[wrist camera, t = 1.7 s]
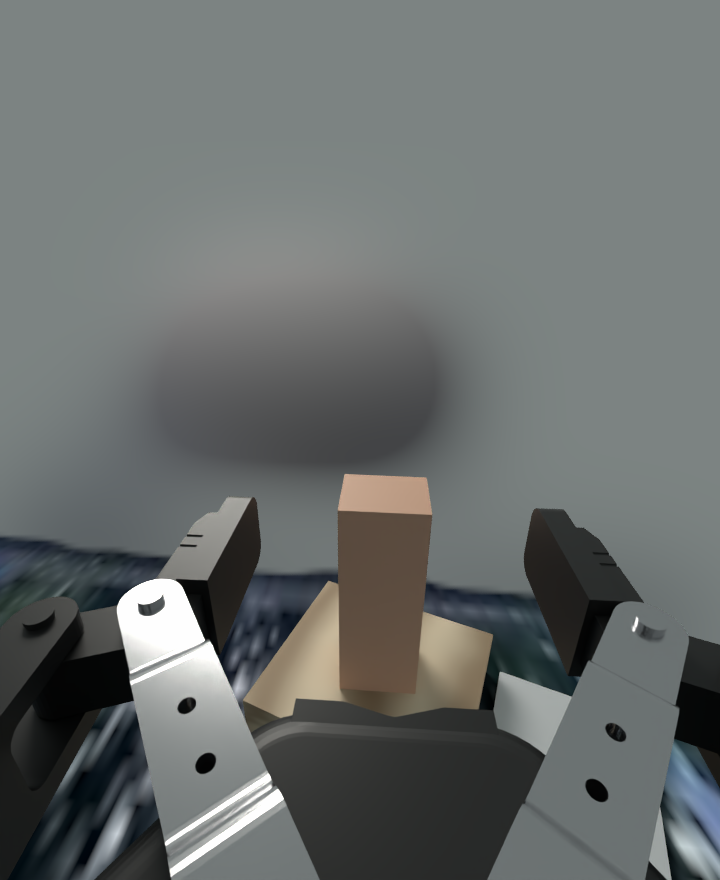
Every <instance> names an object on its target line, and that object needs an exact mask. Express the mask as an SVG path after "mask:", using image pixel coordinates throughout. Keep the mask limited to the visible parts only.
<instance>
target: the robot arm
mask: <svg viewBox="0 0 720 880" xmlns="http://www.w3.org/2000/svg"><path fill="white" fill-rule="evenodd" d="M260 549H261V539H260V530H259V520H258V510H257V502H256V500H255V498H254V497H233V496H229V497H228V498H227V499H226V500H225V502H224V503H223V505H222V507H221V508H220V510H219V512H218V513H208V514H206V515H205V516H204V517H202V518H201V519H199V520H198V521H197V522H195V523H194V525H193V526H192V528H191V529H190V531H189V532H188V534H187V537H185V538H184V539H183V541H182V542H181V544H180V547H178V548H177V549H176V551H175V552H174V554H173V555H172V557H171V558H170V560H169V561H168V562H167V564H166V565H165V567H164V568H163V570H162V571H161V572H160V574H159V575H158V577H157V578H156V580H152V581H149V582H145V583H143V584H140V585H138V586H136V587H135V588H133V589H132V590H130V591H129V592H128V593H126V594H125V595H124V596H123V597H122V599H121V600H120V602H119V604H118V605H117V606H113V607H108V608H103V609H98V610H93V611H87V612H82V613H80V612H79V609H78V606H77V604H76V602H75V601H74V600H73V599H70V598H67V597H52V598H47V599H43V600H40V601H37V602H35V603H32V604H30V605H28V606H26V607H24V608H23V609H21V610H20V611H18V612H17V613H15V614H14V615H13V616H12V617H11V618H10V619H9V620H8V621H7V622H6V623H5V624H4V625H3V626H2V627H1V628H0V880H7V879H8V877H9V876H10V874H11V872H12V870H13V868H14V867H15V865H16V863H17V861H18V859H19V858H20V856H21V854H22V852H23V850H24V849H25V847H26V845H27V843H28V841H29V839H30V838H31V836H32V834H33V832H34V830H35V829H36V827H37V825H38V823H39V821H40V820H41V818H42V816H43V814H44V812H45V811H46V809H47V807H48V805H49V803H50V801H51V800H52V798H53V796H54V794H55V792H56V791H57V789H58V787H59V785H60V783H61V782H62V780H63V778H64V776H65V774H66V773H67V771H68V769H69V767H70V765H71V763H72V762H73V760H74V758H75V756H76V754H77V753H78V751H79V749H80V747H81V745H82V744H83V742H84V740H85V738H86V736H87V735H88V733H89V731H90V729H91V727H92V725H93V724H94V722H95V720H96V718H97V716H98V715H99V713H100V711H101V709H102V708H106V707H110V706H114V705H118V704H122V703H126V702H130V701H134V702H135V707H136V711H137V716H138V721H139V725H140V730H141V735H142V739H143V744H144V748H145V753H146V758H147V762H148V767H149V772H150V776H151V781H152V786H153V790H154V795H155V799H156V804H157V809H158V813H159V818H158V819H157V820H156V821H155V822H154V823H153V824H152V825H151V826H150V827H149V828H148V829H147V830H146V831H145V832H144V833H143V834H142V835H141V836H140V837H139V838H137V839H136V840H135V841H134V842H133V843H132V844H131V845H130V846H129V847H128V848H127V849H126V850H125V851H124V852H123V853H122V854H121V855H120V856H119V857H118V858H117V859H116V860H115V861H113V862H112V863H111V864H110V865H109V866H108V867H107V868H106V869H105V870H104V871H103V872H102V873H101V874H100V875H99V876H98V877H97V878H96V879H95V880H667V879H666V878H665V877H664V876H663V875H662V874H661V873H660V872H659V871H658V870H657V869H656V868H655V867H654V866H653V865H652V863H651V862H650V861H649V857H650V853H651V848H652V843H653V838H654V833H655V828H656V823H657V818H658V814H659V809H660V804H661V799H662V794H663V789H664V784H665V779H666V775H667V770H668V765H669V760H670V755H671V750H672V745H673V740H674V739H677V740H680V741H683V742H685V743H688V744H691V745H694V746H697V748H698V750H699V751H700V753H701V755H702V757H703V759H704V760H705V762H706V764H707V766H708V768H709V769H710V771H711V773H712V775H713V777H714V778H715V780H716V782H717V784H718V786H719V788H720V645H718V644H715V643H711V642H708V641H704V640H701V639H697V638H694V637H691V636H688V634H687V632H686V630H685V629H684V628H683V626H682V625H681V624H680V623H679V622H678V621H677V620H676V619H675V618H674V617H672V616H671V615H669V614H668V613H666V612H665V611H663V610H661V609H659V608H657V607H654V606H652V605H649V604H645V603H644V602H643V600H642V599H641V598H640V597H639V595H638V593H637V592H636V591H635V589H634V588H633V586H632V585H631V584H630V582H629V581H628V579H627V578H626V576H625V575H624V574H623V572H622V571H621V569H620V568H619V567H617V565H616V563H615V561H614V560H613V558H612V557H611V556H609V553H608V551H607V550H606V548H605V547H604V545H603V544H602V543H601V541H600V540H599V539H598V538H596V537H595V536H594V535H592V534H591V533H590V532H588V531H587V530H586V529H584V528H576V527H575V526H574V524H573V522H572V521H571V519H570V518H569V516H568V515H567V513H566V512H565V511H564V510H562V509H537V508H536V509H534V511H533V513H532V516H531V522H530V526H529V531H528V537H527V542H526V547H525V553H524V567H525V572H526V576H527V578H528V581H529V583H530V585H531V588H532V590H533V593H534V595H535V597H536V600H537V602H538V605H539V607H540V610H541V612H542V614H543V617H544V619H545V622H546V624H547V626H548V629H549V631H550V634H551V636H552V639H553V641H554V643H555V646H556V648H557V651H558V653H559V656H560V658H561V660H562V663H563V665H564V668H565V670H566V672H567V675H568V676H579V677H581V678H580V680H579V683H578V685H577V687H576V689H575V691H574V694H573V696H572V698H571V700H570V703H569V705H568V707H567V709H566V711H565V714H564V716H563V718H562V720H561V723H560V725H559V727H558V729H557V731H556V734H555V736H554V738H553V740H552V743H551V745H550V747H549V749H548V751H547V754H546V755H545V754H543V753H542V752H541V751H540V750H538V749H537V748H535V747H534V746H533V745H531V744H530V743H528V742H526V741H525V740H523V739H521V738H519V737H518V736H515V735H513V734H511V733H509V732H506V731H504V730H501V729H498V728H497V723H496V719H495V715H494V710H479V709H462V708H446V707H444V708H439V709H434V710H429V711H424V712H419V713H414V714H409V715H404V716H398V717H392V716H388V715H384V714H381V713H378V712H375V711H372V710H369V709H366V708H363V707H360V706H357V705H354V704H350V703H347V702H344V701H331V700H314V699H298V698H296V700H295V705H294V710H293V715H291V716H286V717H283V718H280V719H277V720H274V721H271V722H269V723H267V724H265V725H263V726H261V727H259V728H257V729H256V730H254V731H252V732H251V733H250V730H249V728H248V726H247V724H246V721H245V719H244V717H243V714H242V712H241V710H240V708H239V705H238V703H237V701H236V698H235V696H234V694H233V692H232V689H231V687H230V685H229V682H228V680H227V678H226V676H225V673H224V671H223V669H222V667H221V664H220V662H219V660H218V657H217V655H220V654H221V651H222V649H223V646H224V644H225V642H226V639H227V637H228V634H229V632H230V629H231V627H232V624H233V622H234V620H235V617H236V615H237V612H238V610H239V607H240V605H241V602H242V600H243V598H244V595H245V593H246V590H247V588H248V585H249V583H250V581H251V578H252V576H253V573H254V571H255V568H256V566H257V563H258V560H259V556H260Z"/></svg>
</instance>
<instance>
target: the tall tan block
mask: <svg viewBox="0 0 720 880" xmlns="http://www.w3.org/2000/svg"><path fill="white" fill-rule="evenodd" d="M431 521H432V510H431V504H430V497H429V490H428V483H427V478H423V477H399V476H398V477H397V476H374V475H373V476H372V475H350V474H345V476H344V481H343V486H342V491H341V496H340V501H339V506H338V588H339V685H340V689H350V690H365V691H379V692H394V693H409V694H415V692H416V681H417V670H418V660H419V649H420V639H421V628H422V618H423V607H424V596H425V586H426V575H427V564H428V554H429V544H430V533H431Z"/></svg>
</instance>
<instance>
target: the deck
mask: <svg viewBox="0 0 720 880" xmlns="http://www.w3.org/2000/svg"><path fill="white" fill-rule="evenodd" d="M492 638H493V635H492V634H489V633H486V632H483V631H480V630H477V629H474V628H471V627H468V626H465V625H462V624H459V623H456V622H452V621H449V620H446V619H443V618H440V617H437V616H434V615H431V614H428V613H425V612H423V618H422V628H421V639H420V649H419V660H418V670H417V681H416V692H415V694H409V693H394V692H379V691H365V690H350V689H340V685H339V588H338V584H336V583H333V582H330V581H328V582H327V584H326V585H325V587H324V588H323V589H322V591H321V592H320V594H319V595H318V596H317V598H316V599H315V601H314V602H313V603H312V605H311V606H310V608H309V609H308V610H307V612H306V613H305V615H304V616H303V617H302V619H301V620H300V621H299V623H298V624H297V626H296V627H295V628H294V630H293V631H292V633H291V634H290V635H289V637H288V638H287V640H286V641H285V642H284V644H283V645H282V647H281V648H280V649H279V651H278V652H277V653H276V655H275V656H274V658H273V659H272V660H271V662H270V663H269V665H268V666H267V667H266V669H265V670H264V672H263V673H262V674H261V676H260V677H259V679H258V680H257V681H256V683H255V684H254V686H253V687H252V688H251V690H250V691H249V692H248V694H247V695H246V697H245V698H244V699H243V705H244V711H245V718H246V724H247V726H248V728H249V730H250V733H251V732H252V731H254V730H256V729H257V728H259V727H261V726H263V725H265V724H267V723H269V722H271V721H274V720H277V719H280V718H283V717H286V716H291V715H293V710H294V705H295V700H296V698H298V699H314V700H331V701H344V702H347V703H350V704H354V705H357V706H360V707H363V708H366V709H369V710H372V711H375V712H378V713H381V714H384V715H388V716H392V717H398V716H404V715H409V714H414V713H419V712H424V711H429V710H434V709H439V708H444V707H446V708H462V709H479V705H480V700H481V695H482V690H483V685H484V680H485V675H486V670H487V664H488V659H489V654H490V648H491V643H492Z"/></svg>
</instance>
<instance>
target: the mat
mask: <svg viewBox="0 0 720 880" xmlns="http://www.w3.org/2000/svg"><path fill="white" fill-rule="evenodd" d="M571 698H572V697H570V696H568V695H565V694H562V693H559V692H556V691H553V690H551V689H548V688H545V687H542V686H539V685H536V684H534V683H531V682H528V681H525V680H522V679H519V678H517V677H514V676H511V675H508V674H505V673H503V672H500V674H499V680H498V686H497V692H496V698H495V704H494V715H495V719H496V723H497V728H498V729H501V730H504V731H506V732H509V733H511V734H513V735H515V736H518V737H519V738H521V739H523V740H525V741H526V742H528V743H530V744H531V745H533V746H534V747H535V748H537V749H538V750H540V751H541V752H542V753H543V754H545V755H546V754H547V751H548V749H549V747H550V745H551V743H552V740H553V738H554V736H555V734H556V731H557V729H558V727H559V725H560V723H561V720H562V718H563V716H564V714H565V711H566V709H567V707H568V705H569V703H570V700H571ZM649 861H650V862H651V863H652V865H653V866H654V867H655V868H656V869H657V870H658V871H659V872H660V873H661V874H662V875H663V876H664V877H665V878H666V879H667V880H671V874H670V867H669V861H668V855H667V848H666V842H665V835H664V829H663V822H662V816H661V810H660V809H659V814H658V818H657V823H656V828H655V833H654V838H653V843H652V848H651V853H650V857H649Z"/></svg>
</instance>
